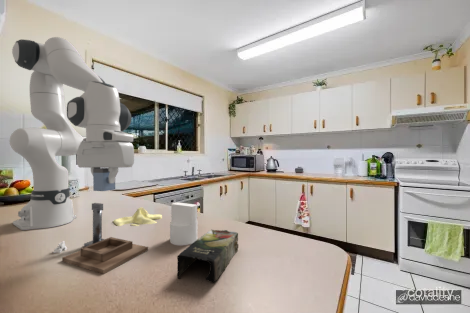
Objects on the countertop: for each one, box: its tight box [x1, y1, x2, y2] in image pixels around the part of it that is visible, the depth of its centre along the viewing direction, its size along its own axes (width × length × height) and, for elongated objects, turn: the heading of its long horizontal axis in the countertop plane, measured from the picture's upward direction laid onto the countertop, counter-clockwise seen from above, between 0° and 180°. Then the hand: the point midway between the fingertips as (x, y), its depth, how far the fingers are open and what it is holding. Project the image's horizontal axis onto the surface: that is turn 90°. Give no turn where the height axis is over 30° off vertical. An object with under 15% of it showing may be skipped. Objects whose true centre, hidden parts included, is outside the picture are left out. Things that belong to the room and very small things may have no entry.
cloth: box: [112, 206, 163, 227], centre depth 94 cm, size 22×19×6 cm
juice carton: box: [176, 229, 239, 284], centre depth 58 cm, size 20×10×6 cm, turn 163°
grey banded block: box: [92, 168, 116, 192], centre depth 64 cm, size 4×4×6 cm
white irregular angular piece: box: [52, 240, 68, 254], centre depth 64 cm, size 3×3×3 cm
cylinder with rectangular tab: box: [169, 201, 199, 246], centre depth 72 cm, size 9×9×12 cm
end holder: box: [61, 236, 149, 275], centre depth 61 cm, size 16×14×3 cm
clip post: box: [83, 202, 106, 247], centre depth 68 cm, size 5×5×13 cm
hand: (104, 182), depth 64 cm, fingers closed on grey banded block, 4 cm apart
